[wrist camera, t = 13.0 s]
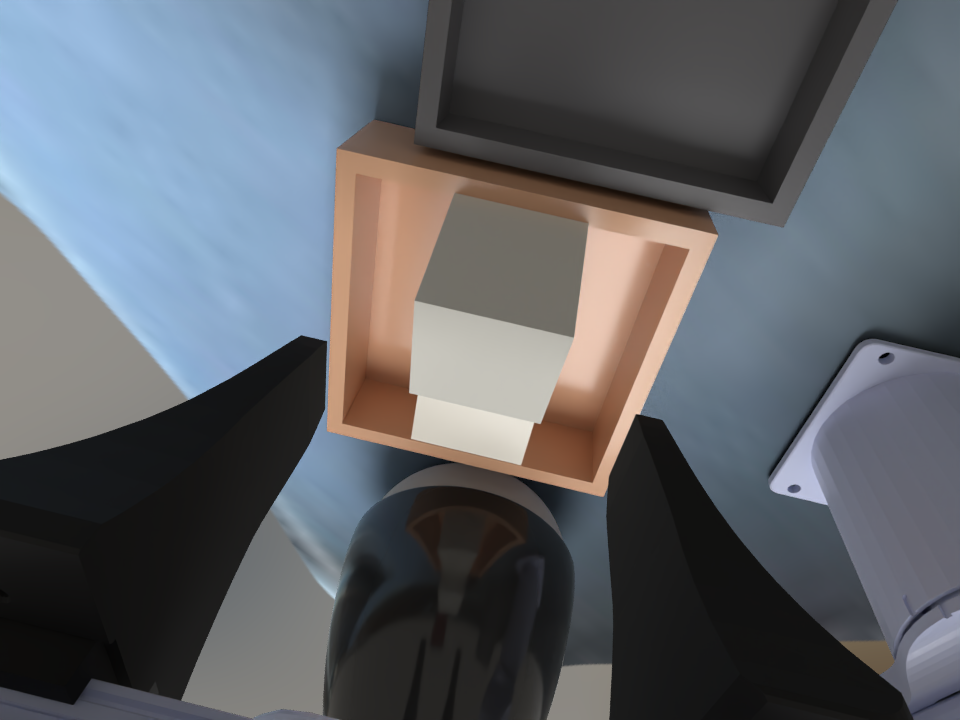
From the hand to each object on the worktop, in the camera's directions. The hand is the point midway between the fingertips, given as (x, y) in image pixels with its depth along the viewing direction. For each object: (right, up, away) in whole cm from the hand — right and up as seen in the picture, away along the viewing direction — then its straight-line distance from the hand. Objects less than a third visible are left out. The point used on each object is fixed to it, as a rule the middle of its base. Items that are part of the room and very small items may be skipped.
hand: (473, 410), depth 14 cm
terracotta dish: (+1, +4, +9) cm, 10 cm away
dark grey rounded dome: (0, -6, +17) cm, 18 cm away
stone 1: (+1, +4, +5) cm, 7 cm away
